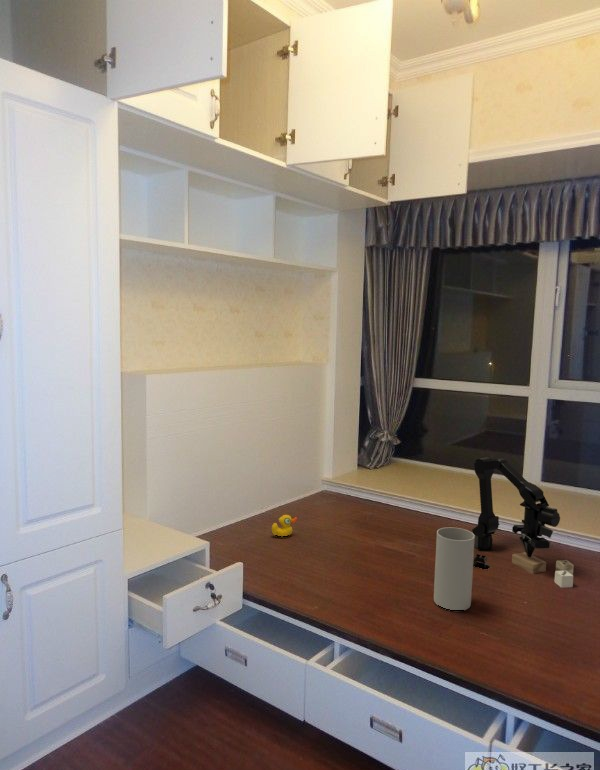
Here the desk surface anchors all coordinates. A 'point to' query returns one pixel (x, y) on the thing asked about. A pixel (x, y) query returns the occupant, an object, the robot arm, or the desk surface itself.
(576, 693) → the desk surface
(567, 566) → the pale birch block
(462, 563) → the cylinder vase
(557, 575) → the off-white painted block
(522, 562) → the tan wooden block
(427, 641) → the desk surface
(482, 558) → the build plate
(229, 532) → the desk surface
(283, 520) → the duckling
